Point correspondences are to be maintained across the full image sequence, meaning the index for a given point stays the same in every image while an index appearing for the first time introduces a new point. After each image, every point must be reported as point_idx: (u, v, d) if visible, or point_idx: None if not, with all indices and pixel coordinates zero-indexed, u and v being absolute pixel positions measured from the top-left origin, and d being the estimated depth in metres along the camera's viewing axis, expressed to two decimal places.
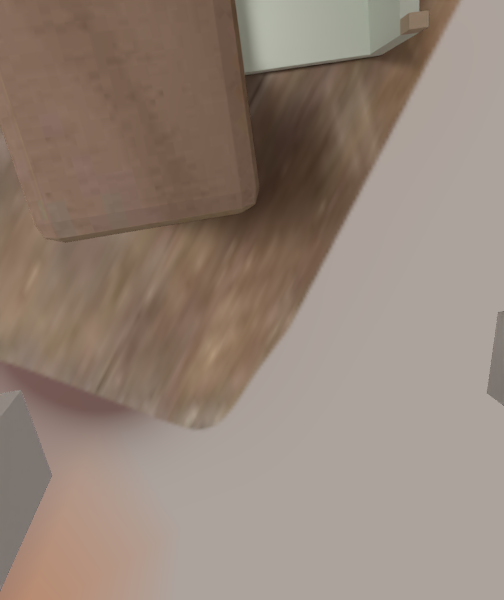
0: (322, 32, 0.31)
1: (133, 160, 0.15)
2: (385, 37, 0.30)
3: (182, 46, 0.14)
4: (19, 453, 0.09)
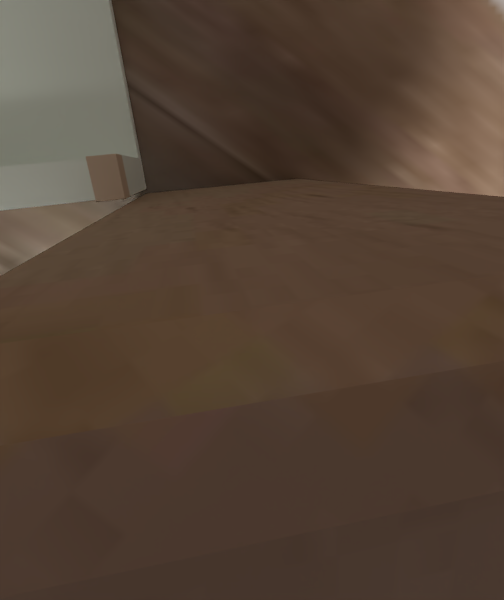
0: None
1: None
2: None
3: None
4: None
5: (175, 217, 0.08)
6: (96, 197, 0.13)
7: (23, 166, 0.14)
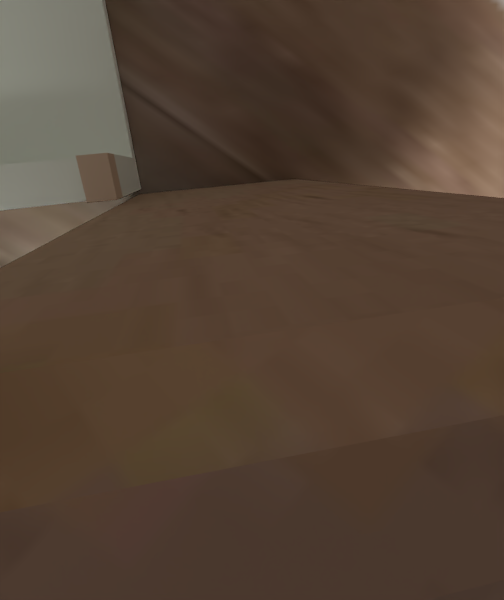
0: None
1: None
2: None
3: None
4: None
5: (163, 220, 0.08)
6: (87, 198, 0.13)
7: (11, 166, 0.13)
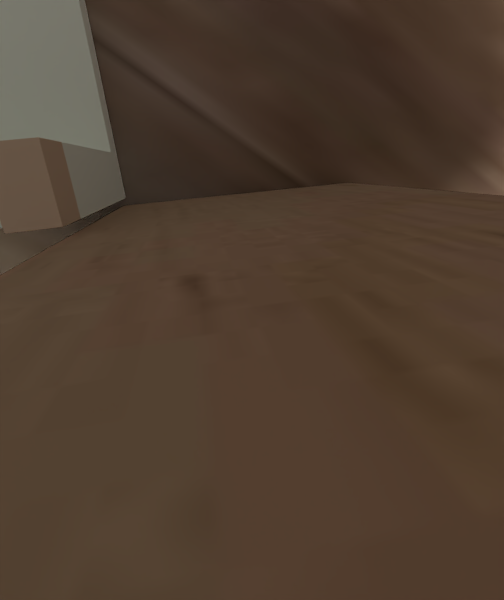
0: None
1: None
2: None
3: None
4: None
5: (121, 394, 0.02)
6: (4, 225, 0.07)
7: None
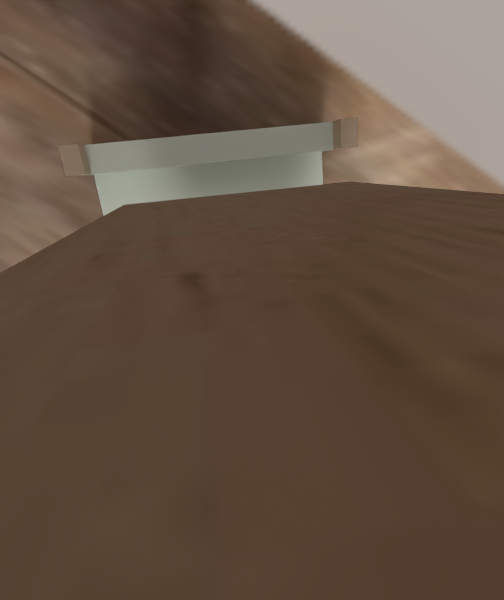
0: None
1: None
2: None
3: None
4: None
5: (121, 389, 0.02)
6: None
7: None
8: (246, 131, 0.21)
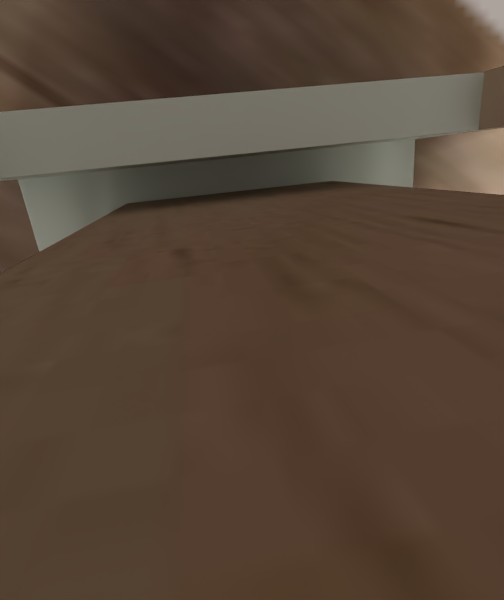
0: None
1: None
2: (446, 134, 0.13)
3: None
4: None
5: (135, 301, 0.03)
6: None
7: None
8: (310, 90, 0.10)
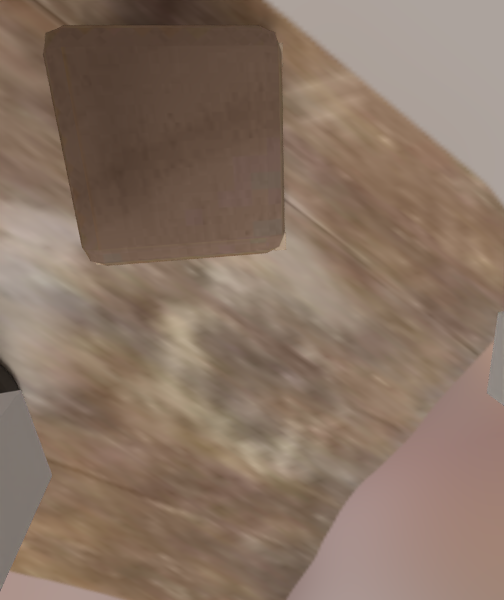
0: None
1: (225, 153, 0.17)
2: None
3: (131, 85, 0.15)
4: (19, 453, 0.09)
5: None
6: None
7: None
8: None
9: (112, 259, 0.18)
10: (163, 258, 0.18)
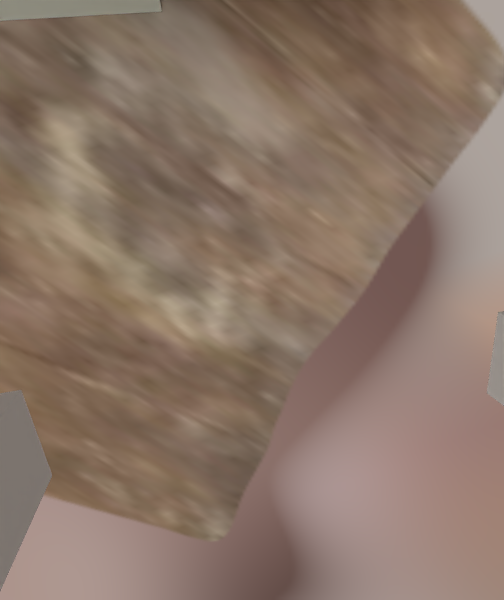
0: None
1: None
2: None
3: None
4: (19, 453, 0.09)
5: None
6: None
7: None
8: None
9: None
10: None
